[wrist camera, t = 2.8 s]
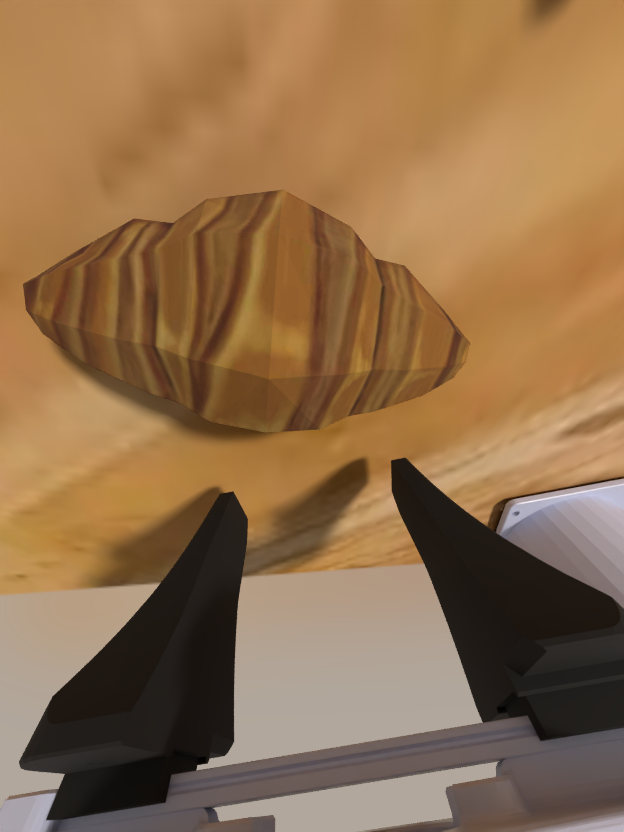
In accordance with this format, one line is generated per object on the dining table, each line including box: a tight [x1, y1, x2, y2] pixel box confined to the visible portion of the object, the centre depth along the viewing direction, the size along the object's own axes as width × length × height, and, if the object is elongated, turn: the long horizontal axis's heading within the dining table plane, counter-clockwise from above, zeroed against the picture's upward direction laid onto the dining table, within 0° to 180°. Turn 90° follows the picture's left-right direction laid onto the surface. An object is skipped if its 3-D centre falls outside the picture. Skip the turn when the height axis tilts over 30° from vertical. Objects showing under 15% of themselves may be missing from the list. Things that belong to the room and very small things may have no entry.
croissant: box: [23, 190, 470, 432], centre depth 8 cm, size 14×7×5 cm, turn 82°
